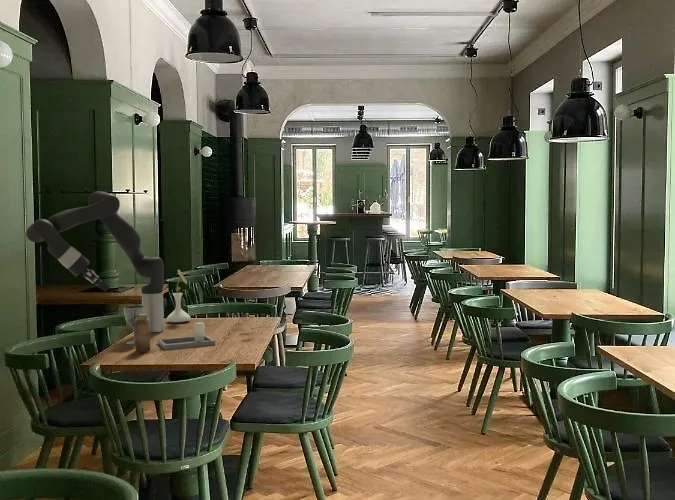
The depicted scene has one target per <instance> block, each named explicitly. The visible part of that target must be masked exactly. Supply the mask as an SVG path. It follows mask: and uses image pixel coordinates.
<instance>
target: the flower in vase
mask: <svg viewBox="0 0 675 500" xmlns="http://www.w3.org/2000/svg"><path fill="white" fill-rule="evenodd" d="M177 273H178V275H179V279H178V281H177V284H176V288H175V291H176V292H174V293H172V296H173V297H174V301H175V309H174V310H173V311H172V312H171V313H170V314H169V315H168V316H167V317H166V321H167V322H170V323H184V322H188V321H190V320H191V319H192V318H191V316H190V315H189V314H188V313H187V312H186V311H184V310H183V309H182V305H181V300H182V296H183V294H184V293H183V292H179V291H180V290H181V289H182V288H181V287H180V286H179V282H180V280H182V281H183V283H185V285H187V284H188V281H187V279H186V278H185V276H184V274H183V273H182V272H181V270H180V269H177Z"/></svg>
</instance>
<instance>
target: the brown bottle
mask: <svg viewBox="0 0 675 500" xmlns="http://www.w3.org/2000/svg"><path fill="white" fill-rule="evenodd" d="M135 343H136V344H135V352H137V353H144V351H146V352H150V351H151V332H150V325H149V319H147V314H139V315H137V320H135ZM149 350H150V351H149Z"/></svg>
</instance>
